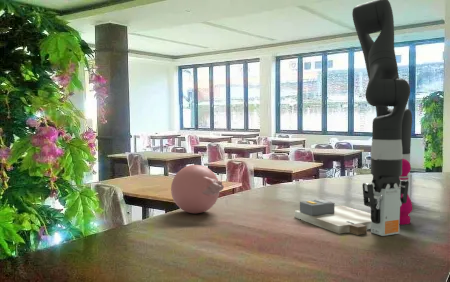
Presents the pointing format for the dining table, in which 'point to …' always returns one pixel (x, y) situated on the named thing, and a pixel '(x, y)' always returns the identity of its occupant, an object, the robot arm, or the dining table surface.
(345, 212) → the board
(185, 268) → the dining table surface
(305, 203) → the block
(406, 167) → the pepper mill
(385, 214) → the skincare box
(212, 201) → the balloon
